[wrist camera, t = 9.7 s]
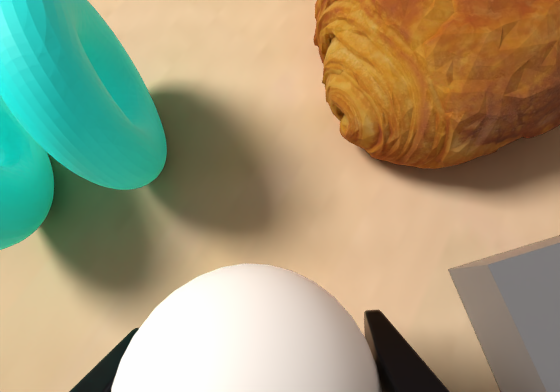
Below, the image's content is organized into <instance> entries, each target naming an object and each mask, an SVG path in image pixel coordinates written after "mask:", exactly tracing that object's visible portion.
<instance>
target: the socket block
mask: <svg viewBox="0 0 560 392" xmlns="http://www.w3.org/2000/svg"><path fill="white" fill-rule="evenodd" d="M448 270H449V273H450V275H451V277H452V280H453V282H454V284H455V287H456V289H457V291H458V294H459V296H460V298H461V301H462V303H463V305H464V308H465V310H466V312H467V314H468V317H469V319H470V321H471V324H472V326H473V328H474V331H475V333H476V335H477V338H478V340H479V342H480V345H481V347H482V349H483V352H484V354H485V356H486V359H487V361H488V363H489V366H490V368H491V370H492V373H493V375H494V377H495V379H496V382H497V384H498V386H499V389H500V391H501V392H560V235H559V236H556V237H553V238H549V239H546V240H543V241H540V242H536V243H533V244H530V245H527V246H523V247H520V248H517V249H513V250H510V251H507V252H504V253H500V254H497V255H494V256H491V257H487V258H484V259H481V260H478V261H474V262H471V263H468V264H465V265H461V266H458V267H455V268H451V269H448Z"/></svg>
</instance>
